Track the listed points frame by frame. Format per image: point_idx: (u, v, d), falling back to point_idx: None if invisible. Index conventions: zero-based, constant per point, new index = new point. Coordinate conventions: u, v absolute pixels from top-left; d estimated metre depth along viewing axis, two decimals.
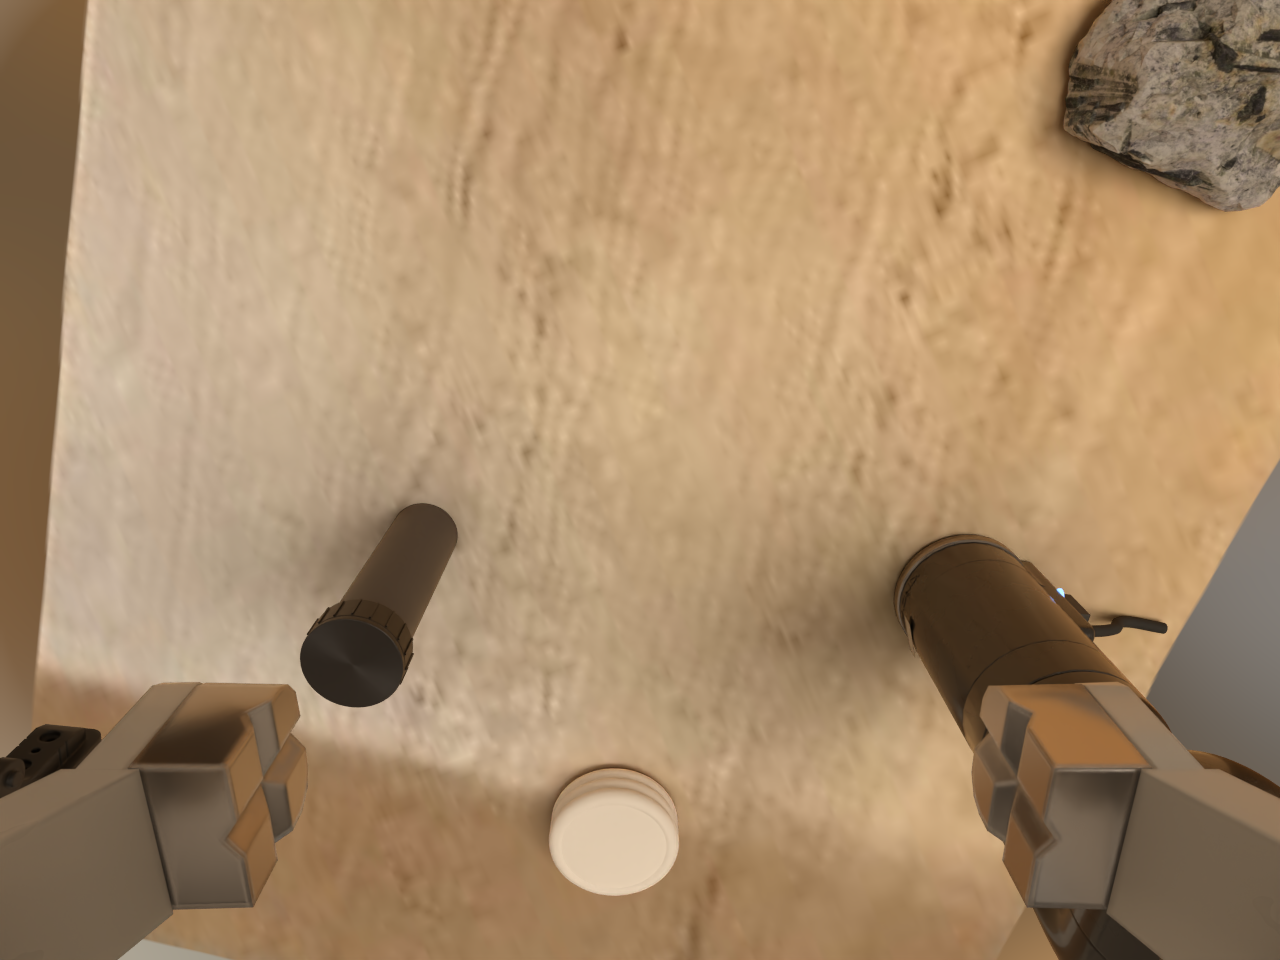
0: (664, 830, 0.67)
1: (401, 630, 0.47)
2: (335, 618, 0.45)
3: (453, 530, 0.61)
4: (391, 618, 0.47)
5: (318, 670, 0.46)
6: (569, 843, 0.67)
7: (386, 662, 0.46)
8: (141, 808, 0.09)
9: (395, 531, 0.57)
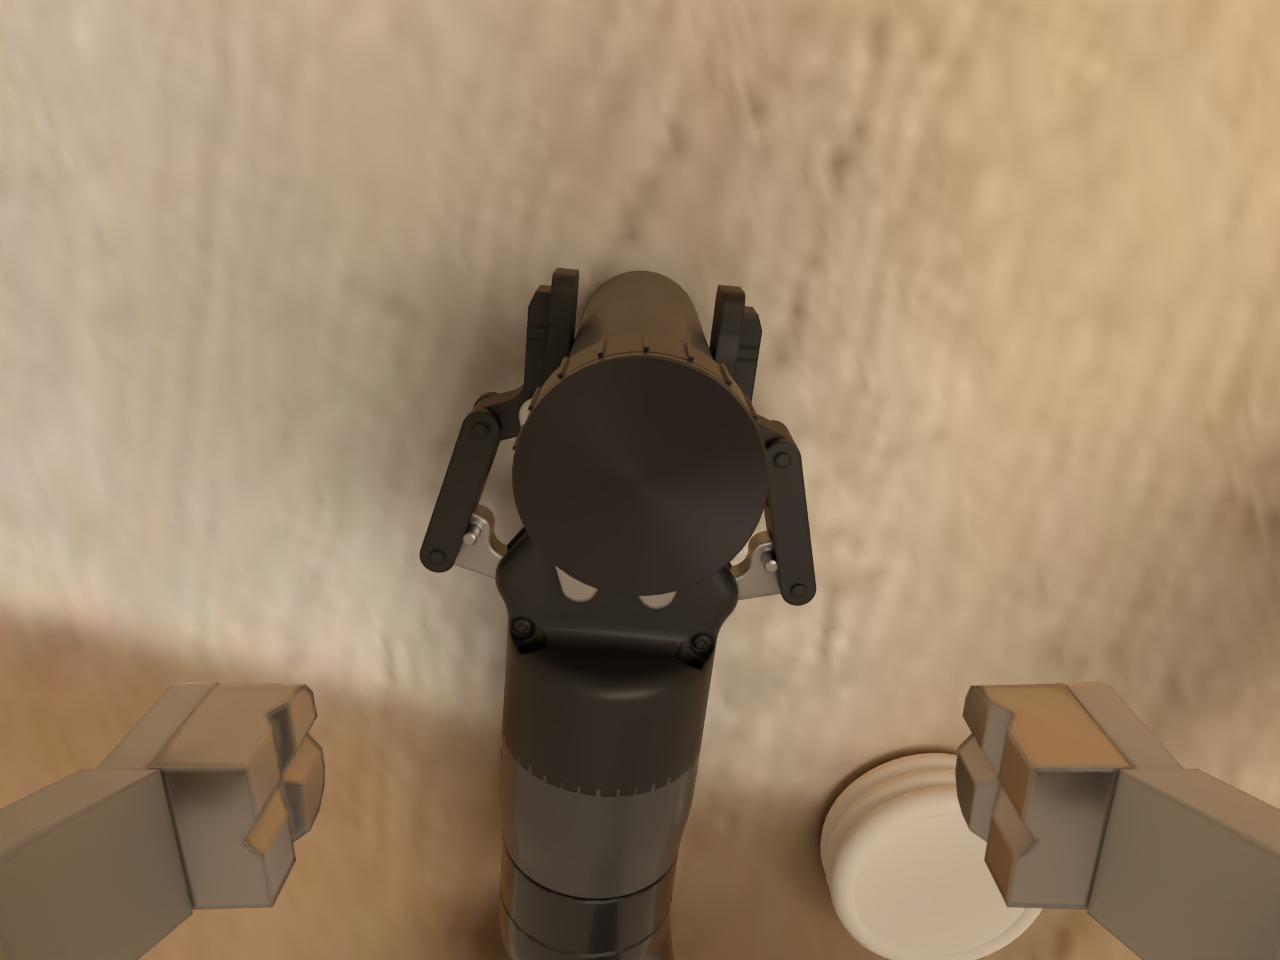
0: None
1: (748, 406, 0.19)
2: (610, 357, 0.18)
3: None
4: (726, 374, 0.19)
5: (556, 500, 0.19)
6: (869, 882, 0.39)
7: (728, 475, 0.18)
8: (161, 808, 0.09)
9: (618, 291, 0.29)
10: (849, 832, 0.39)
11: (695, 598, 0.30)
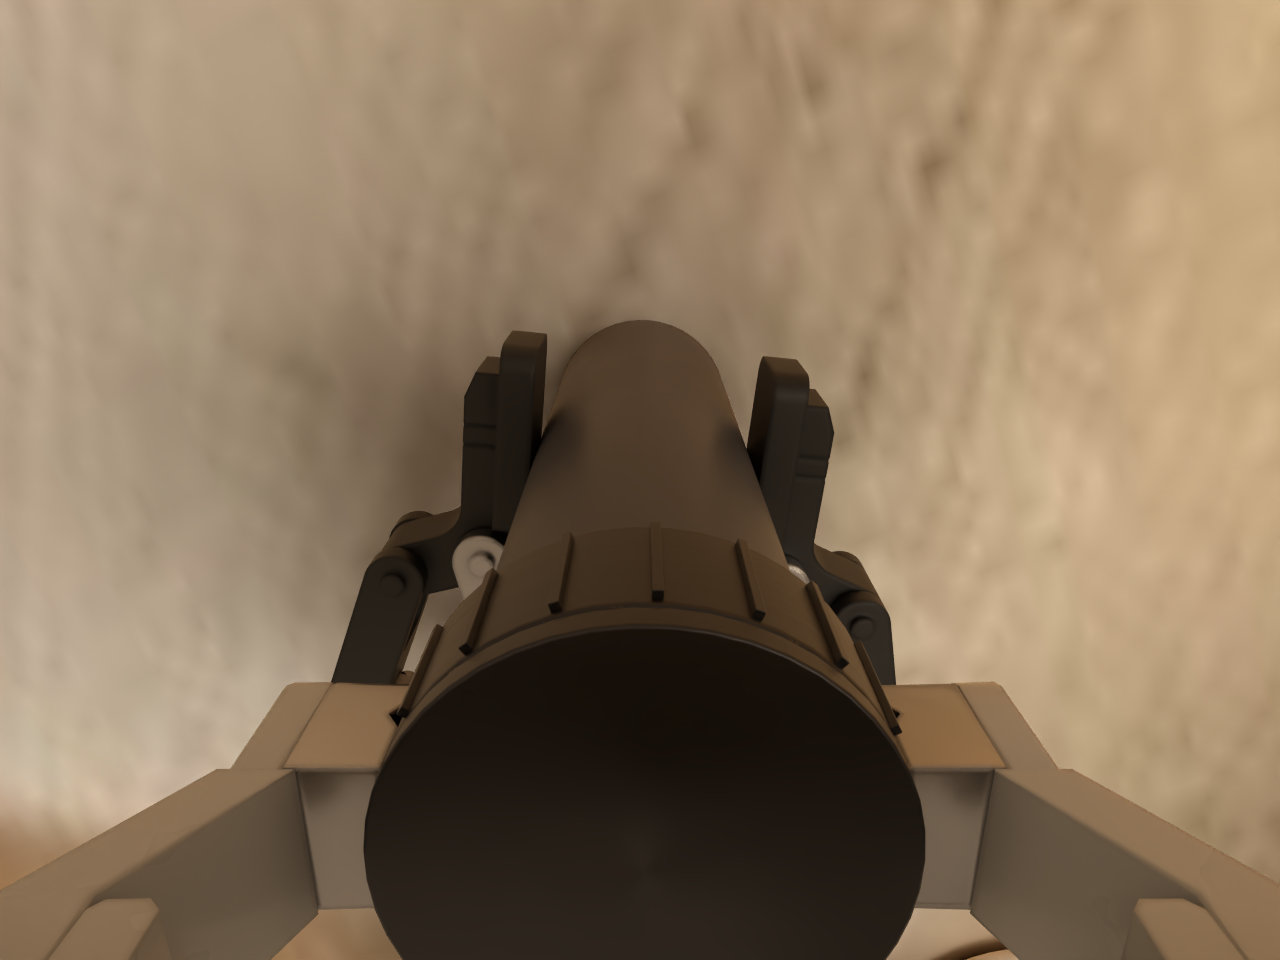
0: None
1: (870, 679, 0.09)
2: (575, 626, 0.08)
3: None
4: None
5: (462, 906, 0.09)
6: None
7: (837, 861, 0.08)
8: (295, 808, 0.09)
9: (609, 362, 0.19)
10: None
11: None
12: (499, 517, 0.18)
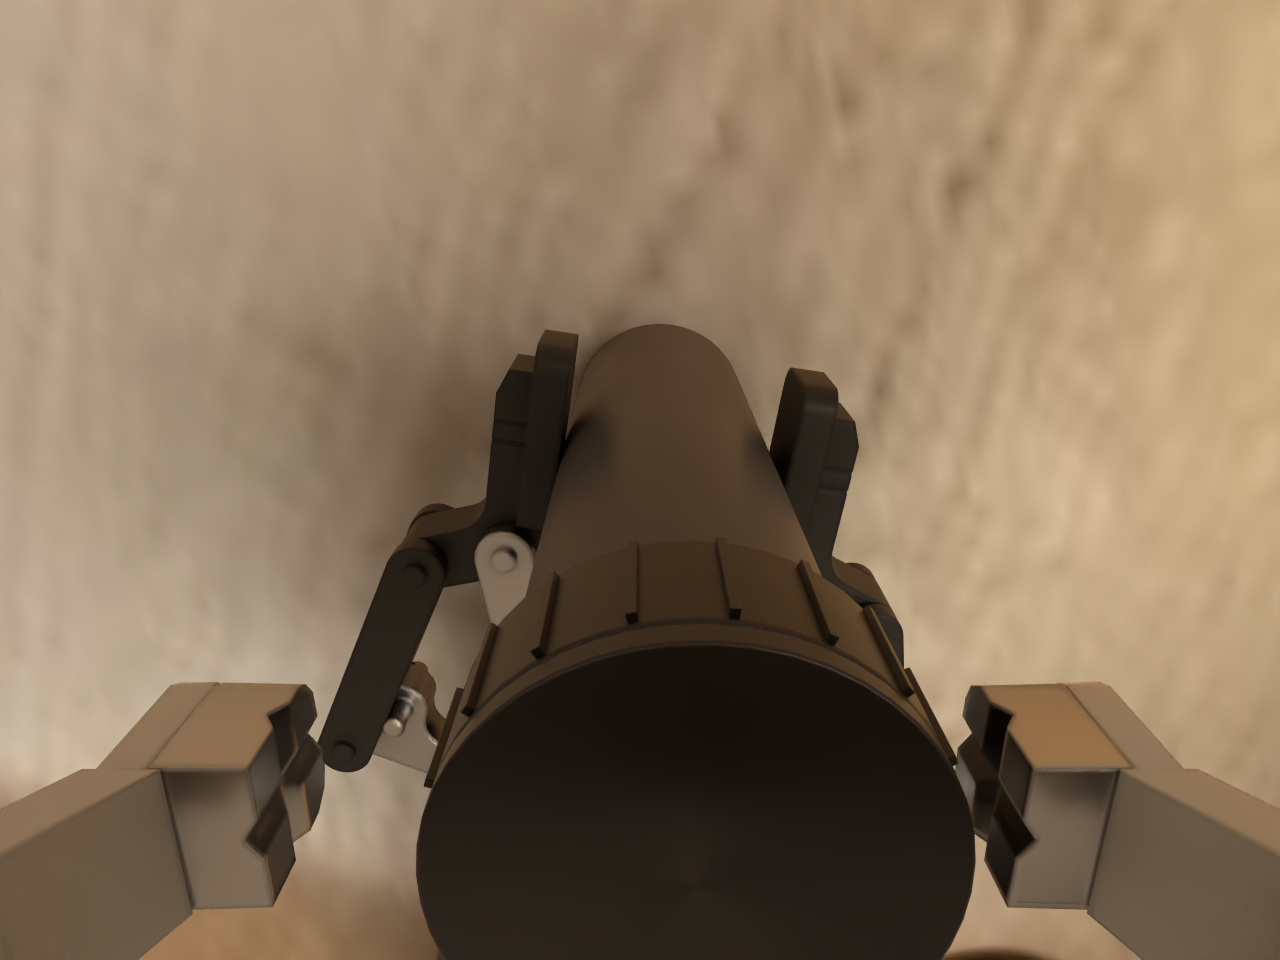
0: None
1: (724, 573, 0.09)
2: None
3: None
4: (637, 572, 0.09)
5: None
6: None
7: (801, 748, 0.08)
8: (161, 808, 0.09)
9: (636, 366, 0.19)
10: None
11: None
12: (524, 514, 0.18)
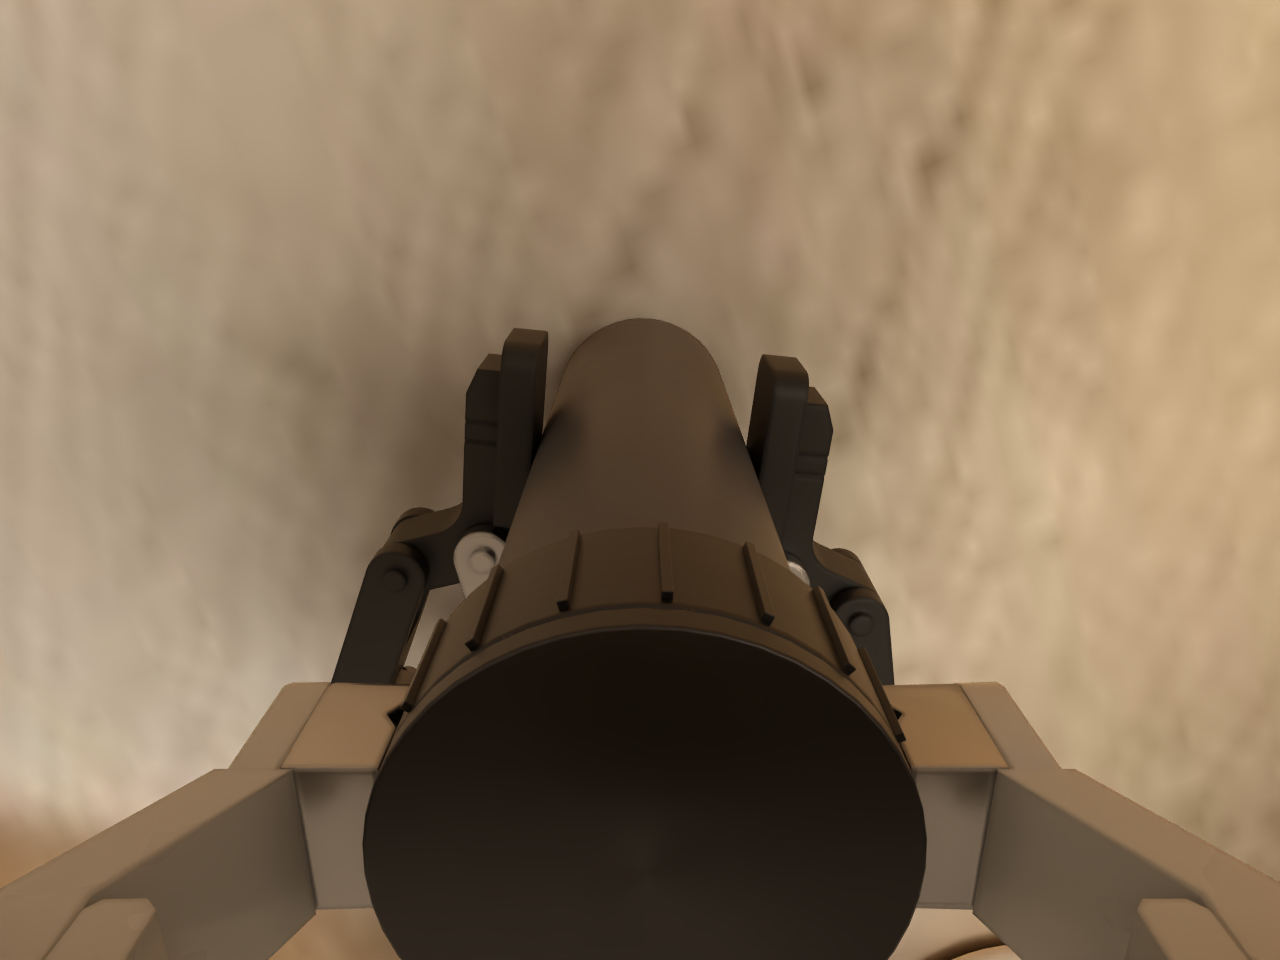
0: None
1: (662, 558, 0.09)
2: (371, 792, 0.08)
3: None
4: (575, 561, 0.09)
5: None
6: None
7: (739, 730, 0.08)
8: (292, 808, 0.09)
9: (609, 360, 0.19)
10: None
11: None
12: (500, 513, 0.18)
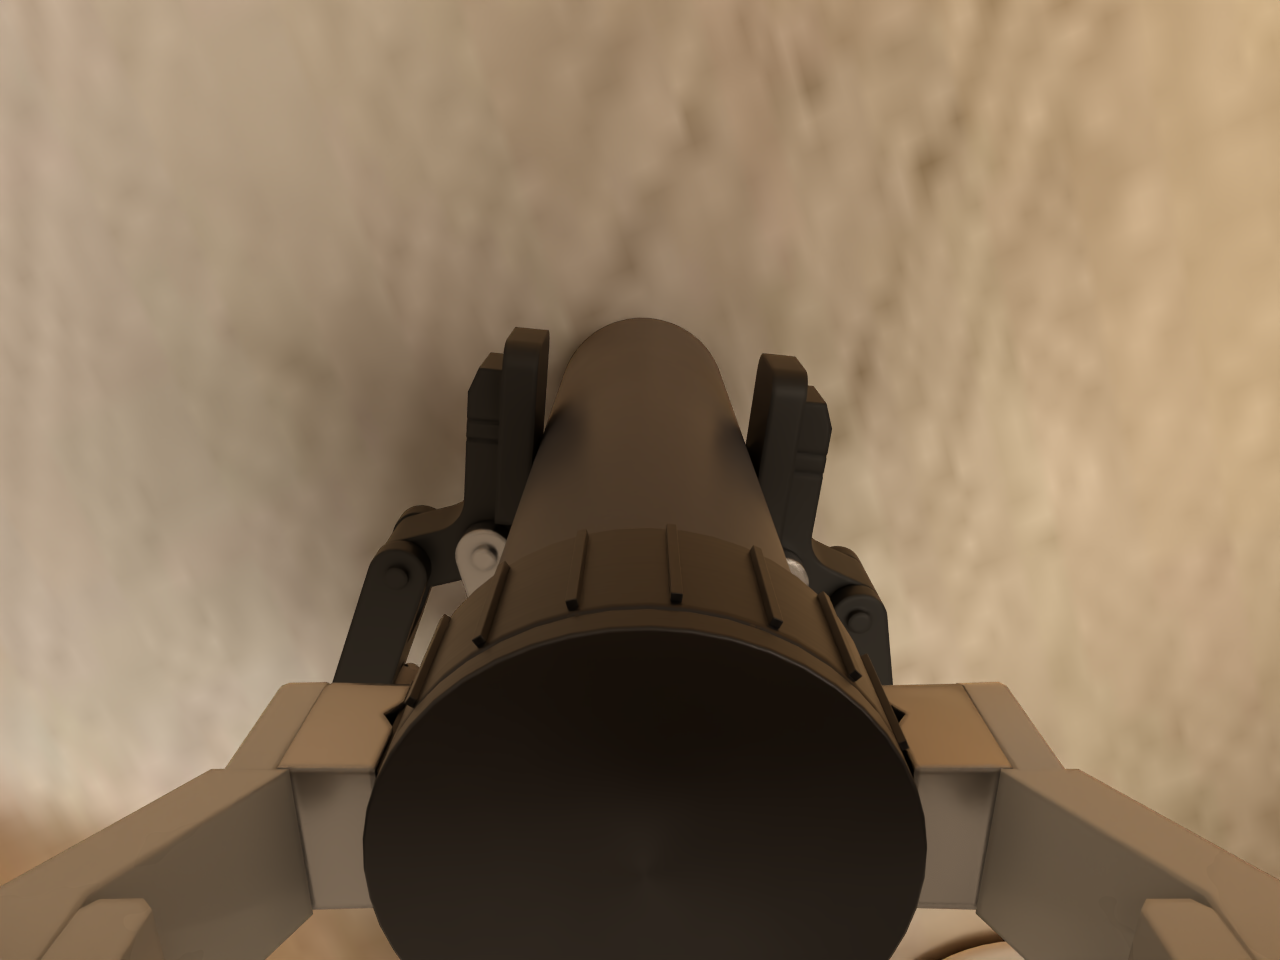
0: None
1: (433, 656, 0.09)
2: None
3: None
4: (402, 716, 0.09)
5: None
6: None
7: (538, 737, 0.08)
8: (289, 808, 0.09)
9: (610, 359, 0.19)
10: None
11: None
12: (502, 511, 0.18)
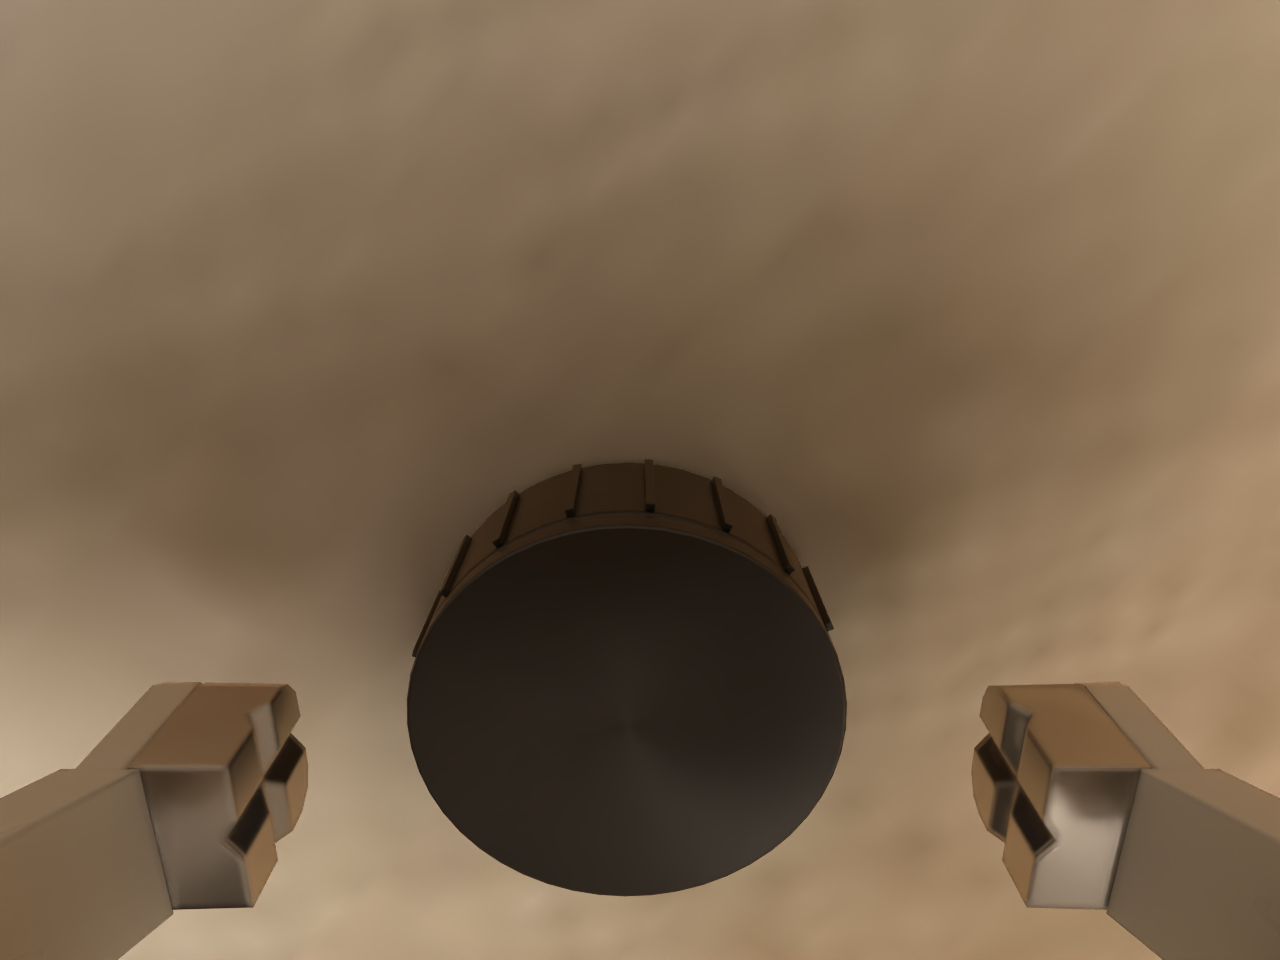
0: None
1: (459, 564, 0.11)
2: (469, 833, 0.11)
3: None
4: (433, 614, 0.12)
5: (718, 820, 0.11)
6: None
7: (544, 614, 0.10)
8: (141, 808, 0.09)
9: None
10: None
11: None
12: None
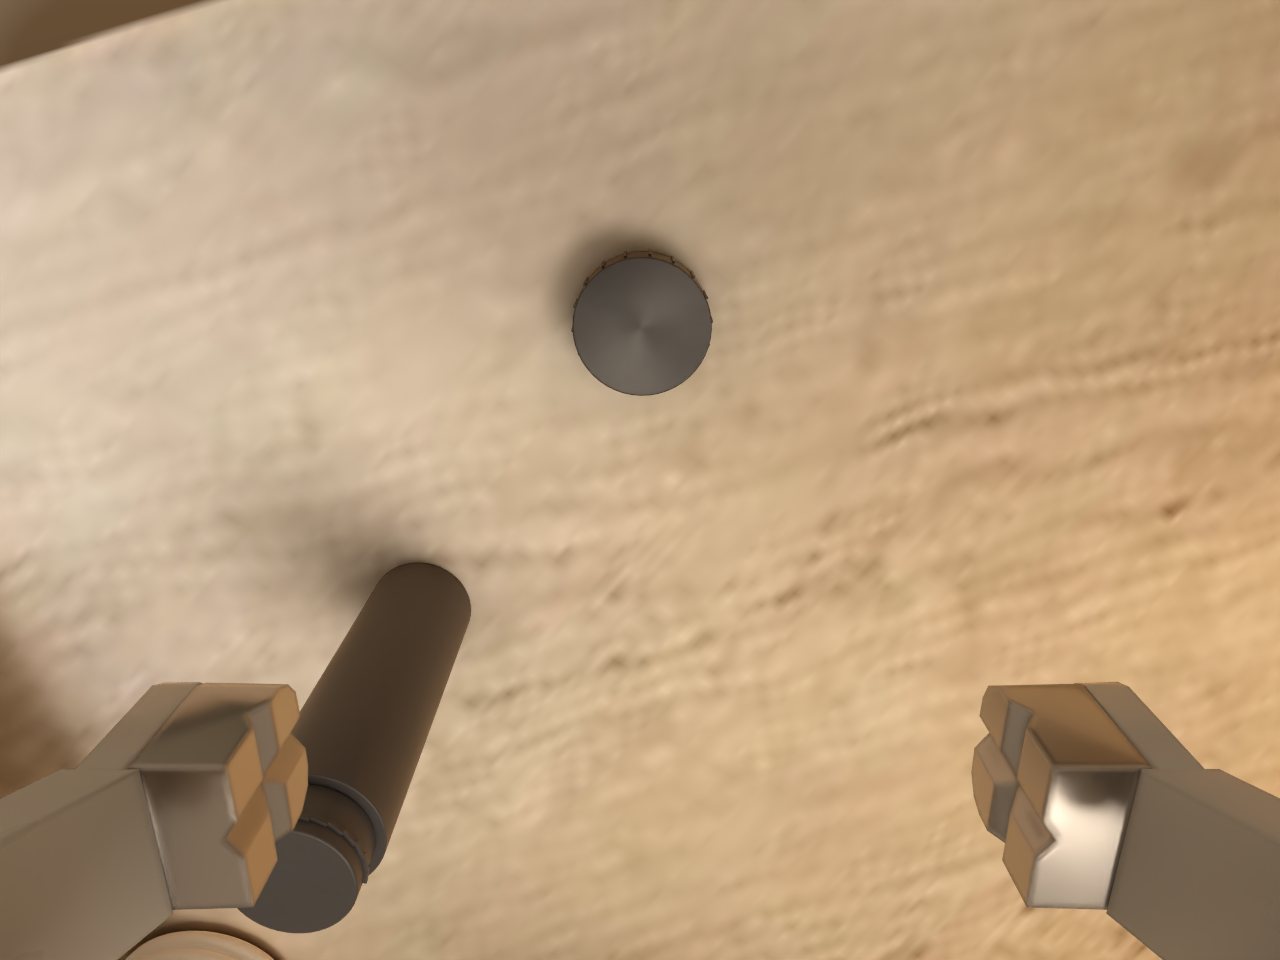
0: None
1: (586, 282, 0.35)
2: (589, 370, 0.35)
3: None
4: (577, 301, 0.35)
5: (671, 364, 0.35)
6: None
7: (617, 287, 0.34)
8: (141, 808, 0.09)
9: (428, 623, 0.36)
10: None
11: None
12: None
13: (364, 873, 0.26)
